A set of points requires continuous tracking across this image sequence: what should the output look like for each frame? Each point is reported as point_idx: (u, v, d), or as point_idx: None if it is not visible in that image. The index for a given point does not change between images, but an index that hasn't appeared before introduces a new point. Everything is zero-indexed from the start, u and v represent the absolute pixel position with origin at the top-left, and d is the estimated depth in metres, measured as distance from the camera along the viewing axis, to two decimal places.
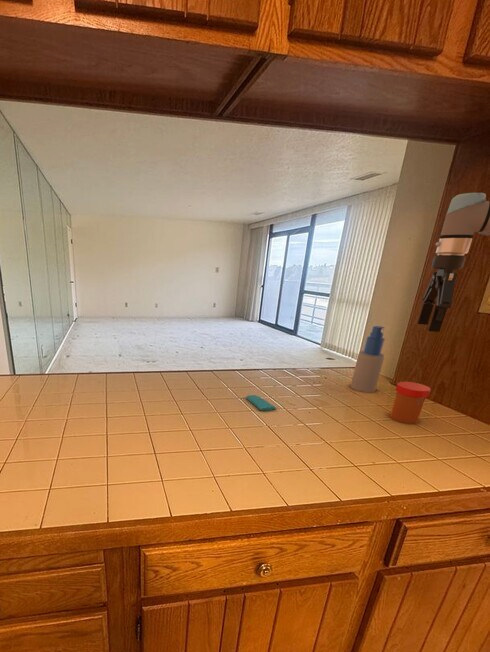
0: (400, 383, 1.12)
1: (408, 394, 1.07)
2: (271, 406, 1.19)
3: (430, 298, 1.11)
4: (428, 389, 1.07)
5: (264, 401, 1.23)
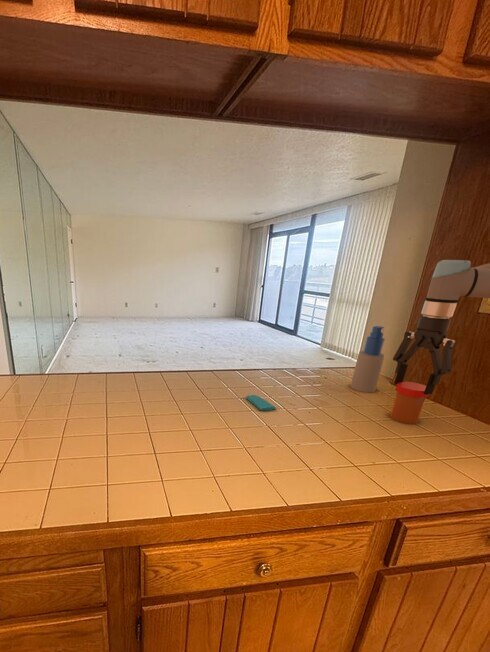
0: (400, 383, 1.12)
1: (408, 394, 1.07)
2: (271, 406, 1.19)
3: None
4: None
5: (264, 401, 1.23)
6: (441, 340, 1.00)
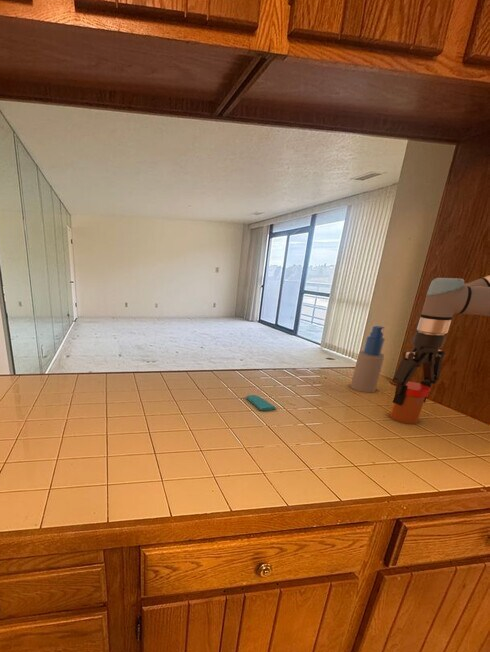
0: (410, 388, 1.07)
1: (428, 394, 1.07)
2: (271, 406, 1.19)
3: (426, 375, 1.10)
4: (418, 383, 1.12)
5: (264, 401, 1.23)
6: None
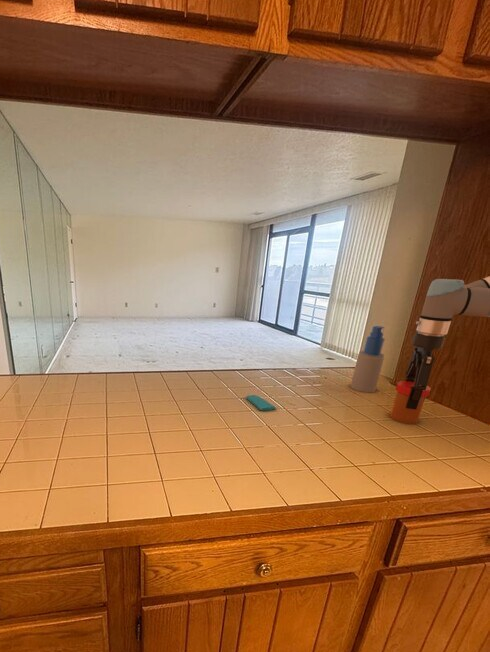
0: None
1: None
2: (271, 406, 1.19)
3: (412, 373, 1.12)
4: (406, 381, 1.13)
5: (264, 401, 1.23)
6: None
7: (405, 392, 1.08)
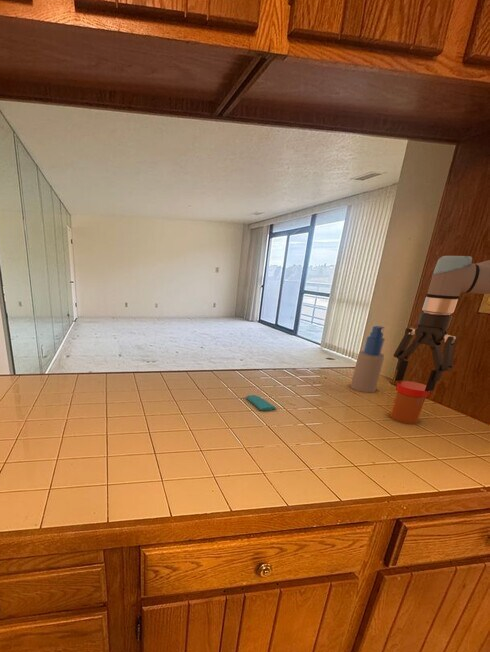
0: (422, 389, 1.06)
1: None
2: (271, 406, 1.19)
3: None
4: (406, 381, 1.13)
5: (264, 401, 1.23)
6: (442, 336, 1.00)
7: (405, 392, 1.08)
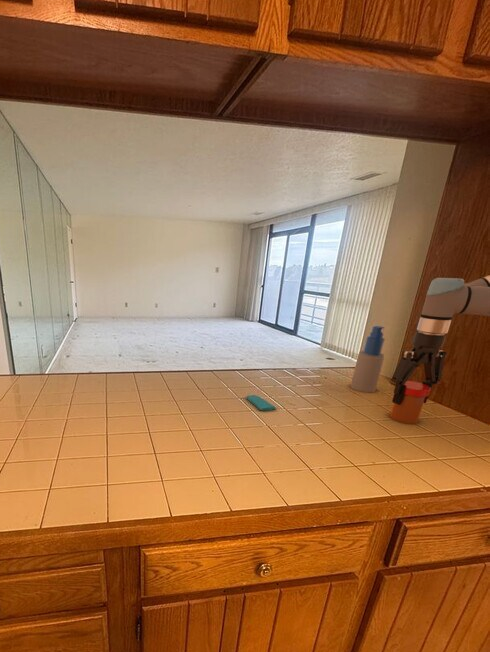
0: (426, 386, 1.09)
1: None
2: (271, 406, 1.19)
3: (427, 376, 1.09)
4: None
5: (264, 401, 1.23)
6: None
7: (426, 394, 1.06)
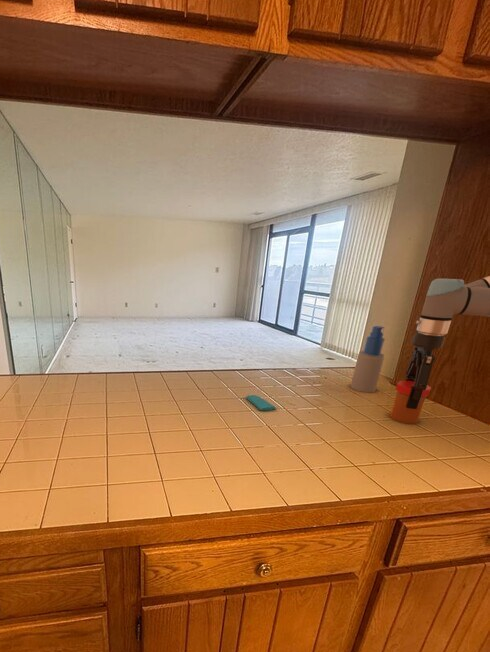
0: None
1: None
2: (271, 406, 1.19)
3: (413, 373, 1.12)
4: (410, 387, 1.07)
5: (264, 401, 1.23)
6: None
7: None
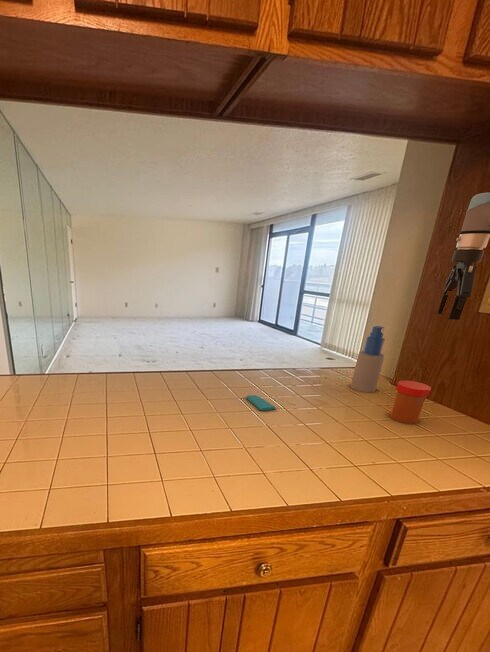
0: (416, 382, 1.12)
1: None
2: (271, 406, 1.19)
3: (450, 289, 1.21)
4: (410, 387, 1.07)
5: (264, 401, 1.23)
6: None
7: None
